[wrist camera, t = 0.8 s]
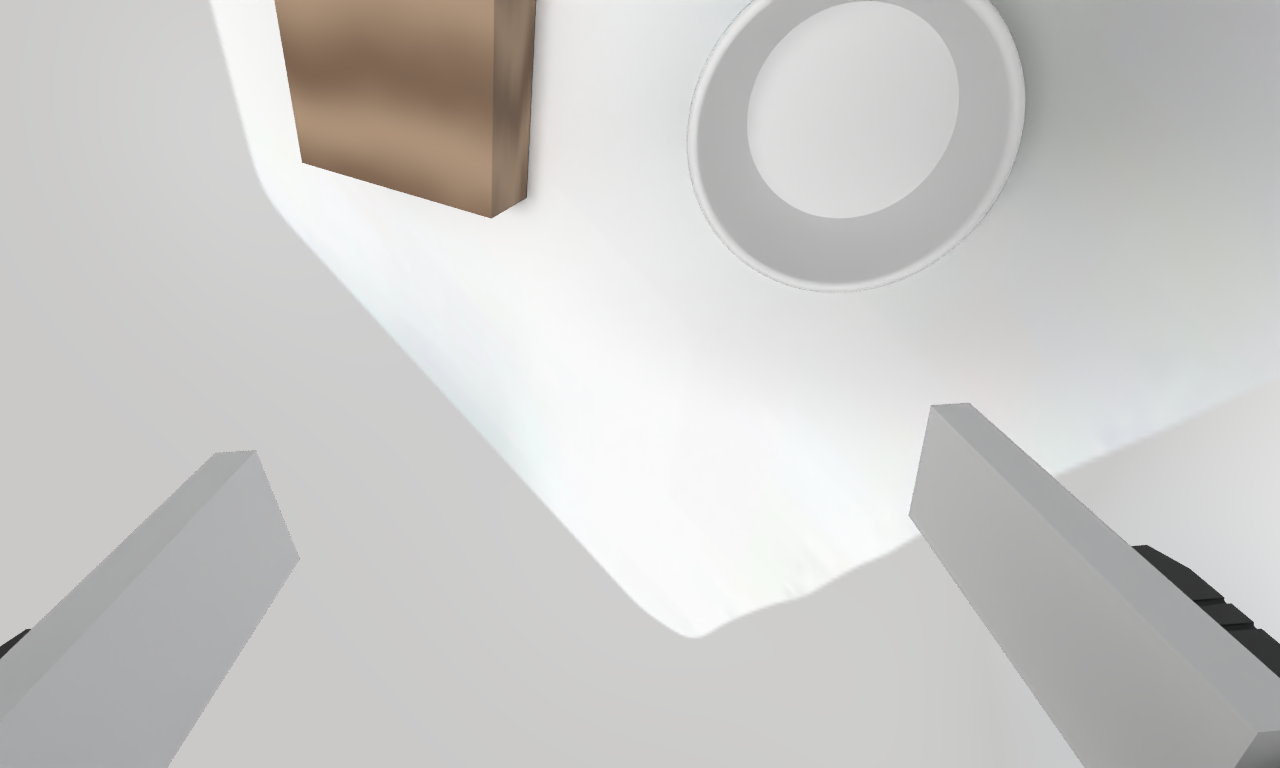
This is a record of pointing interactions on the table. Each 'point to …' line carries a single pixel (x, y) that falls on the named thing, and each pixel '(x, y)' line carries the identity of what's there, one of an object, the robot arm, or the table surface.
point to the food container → (854, 135)
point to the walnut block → (415, 94)
